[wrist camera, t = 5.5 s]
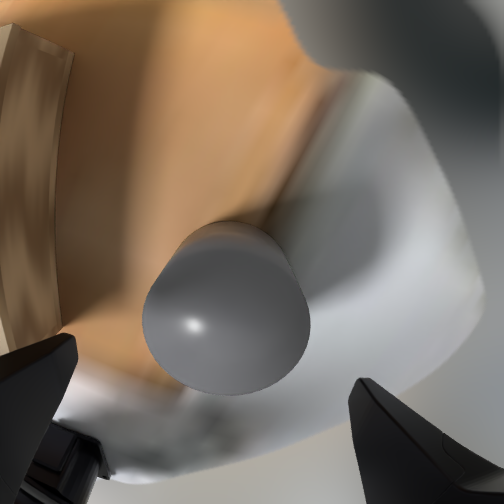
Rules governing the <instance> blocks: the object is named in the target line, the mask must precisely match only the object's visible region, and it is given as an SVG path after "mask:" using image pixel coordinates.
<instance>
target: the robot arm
mask: <svg viewBox="0 0 504 504" xmlns="http://www.w3.org/2000/svg"><path fill="white" fill-rule="evenodd" d="M77 362H78V351H77V345H76V339H75V337H74V336H73V335H71V334H68V333H60V334H58V335H55V336H52V337H49V338H47V339H44V340H41V341H39V342H36V343H33V344H31V345H28V346H25V347H23V348H20V349H17V350H14V351H12V352H9V353H6V354H4V355H1V356H0V504H87V502H88V499H89V496H90V494H91V491H92V489H93V486H94V484H95V481H96V478H97V477H100V478H103V479H106V480H109V479H110V477H111V475H110V472H109V469H108V466H107V463H106V460H105V457H104V453H103V450H102V447H101V444H100V442H99V441H97V440H96V439H93V438H90V437H87V436H84V435H81V434H79V433H76V432H73V431H70V430H68V429H65V428H62V427H60V426H57V425H55V424H52V423H50V422H51V420H52V418H53V416H54V414H55V412H56V411H57V409H58V407H59V405H60V403H61V401H62V399H63V397H64V394H65V392H66V389H67V387H68V384H69V382H70V379H71V377H72V375H73V372H74V370H75V367H76V365H77ZM348 405H349V413H350V421H351V430H352V438H353V444H354V449H355V453H356V457H357V462H358V466H359V471H360V475H361V480H362V484H363V489H364V494H365V498H366V503H367V504H504V469H503V468H501V467H498V466H497V465H495V464H493V463H491V462H489V461H487V460H486V459H484V458H482V457H481V456H479V455H477V454H475V453H474V452H472V451H470V450H469V449H467V448H466V447H464V446H462V445H461V444H459V443H458V442H456V441H455V440H453V439H452V438H450V437H449V436H448V435H446V434H445V433H442V431H441V430H439V429H438V428H437V427H435V426H434V425H432V424H431V423H430V422H428V421H427V420H425V419H424V418H423V417H421V416H420V415H419V414H418V413H416V412H415V411H413V410H412V409H410V408H409V407H408V406H407V405H405V404H404V403H403V402H401V401H400V400H399V399H397V398H396V397H395V396H393V395H392V394H391V393H389V392H388V391H387V390H385V389H384V388H383V387H381V386H380V385H379V384H377V383H376V382H375V381H373V380H372V379H371V378H358V379H357V380H356V382H355V384H354V386H353V389H352V391H351V393H350V396H349V399H348Z"/></svg>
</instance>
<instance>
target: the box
mask: <svg viewBox="0 0 504 504" xmlns="http://www.w3.org/2000/svg"><path fill="white" fill-rule="evenodd" d="M73 57H74V53H73V52H71V51H69V50H67V49H65V48H63V47H61V46H59V45H57V44H55V43H52V42H50V41H48V40H46V39H44V38H41V37H39V36H37V35H35V34H32V33H30V32H28V31H25V30H23V29H20V32H19V35H18V39H17V42H16V46H15V49H14V53H13V57H12V61H11V65H10V70H9V74H8V79H7V84H6V89H5V95H4V101H3V107H2V114H1V121H0V266H1V274H2V281H3V287H4V293H5V299H6V305H7V310H8V315H9V319H10V324H11V328H12V333H13V337H14V341H15V345H16V348H17V349H20V348H23V347H25V346H28V345H31V344H33V343H36V342H39V341H41V340H44V339H47V338H49V337H52V336H55V335H56V334H57V333H58V332H59V331H60V330H61V329H62V328H63V327H62V320H61V312H60V304H59V295H58V284H57V272H56V255H55V185H56V168H57V155H58V145H59V136H60V128H61V121H62V114H63V107H64V101H65V95H66V90H67V85H68V80H69V75H70V70H71V66H72V62H73Z"/></svg>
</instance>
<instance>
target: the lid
mask: <svg viewBox="0 0 504 504" xmlns="http://www.w3.org/2000/svg"><path fill="white" fill-rule="evenodd" d="M20 29H21V26H19V25H17V24H14V23H11V24H8V25H5V26H2V27H0V121H1V114H2V107H3V101H4V95H5V89H6V84H7V79H8V74H9V70H10V65H11V61H12V57H13V53H14V49H15V46H16V42H17V39H18V35H19V32H20ZM14 350H17V348H16V345H15V341H14V337H13V333H12V328H11V324H10V319H9V315H8V310H7V305H6V299H5V293H4V287H3V281H2V274H1V266H0V356H1V355H4V354H6V353H9V352H12V351H14Z"/></svg>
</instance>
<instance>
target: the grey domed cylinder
mask: <svg viewBox="0 0 504 504" xmlns="http://www.w3.org/2000/svg"><path fill="white" fill-rule="evenodd" d="M142 326H143V333H144V337H145V340H146V343H147V345H148V348H149V350H150V352H151V354H152V355H153V357H154V358H155V360H156V361H157V362H158V364H159V365H160V366H161V367H162V368H163V369H164V370H165V371H166V372H167V373H168V374H169V375H170V376H172V377H173V378H174V379H176V380H177V381H179V382H181V383H182V384H184V385H186V386H188V387H190V388H192V389H195V390H198V391H201V392H205V393H209V394H215V395H227V396H233V395H243V394H248V393H253V392H256V391H259V390H262V389H264V388H267V387H269V386H271V385H273V384H274V383H276V382H278V381H279V380H281V379H282V378H283V377H285V376H286V375H287V374H288V373H289V372H290V371H291V370H292V369H293V368H294V367H295V366H296V364H297V363H298V362H299V360H300V359H301V357H302V355H303V353H304V351H305V349H306V347H307V343H308V340H309V335H310V314H309V309H308V306H307V303H306V300H305V297H304V295H303V293H302V291H301V289H300V287H299V284H298V282H297V280H296V278H295V276H294V274H293V271H292V269H291V267H290V265H289V263H288V261H287V259H286V257H285V255H284V253H283V251H282V249H281V248H280V246H279V245H278V244H277V243H276V242H275V240H274V239H273V238H272V237H270V236H269V235H268V234H267V233H265V232H264V231H262V230H260V229H259V228H257V227H254V226H252V225H249V224H246V223H242V222H235V221H223V222H216V223H212V224H209V225H206V226H204V227H201V228H200V229H198V230H196V231H194V232H193V233H192V234H191V235H189V236H188V237H187V238H186V239H185V240H184V241H183V242H182V244H181V245H180V246H179V248H178V249H177V250H176V252H175V253H174V255H173V256H172V258H171V259H170V260H169V262H168V263H167V265H166V266H165V268H164V269H163V271H162V272H161V274H160V275H159V277H158V278H157V279H156V281H155V282H154V284H153V285H152V287H151V289H150V291H149V293H148V295H147V297H146V300H145V303H144V308H143V314H142Z"/></svg>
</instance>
